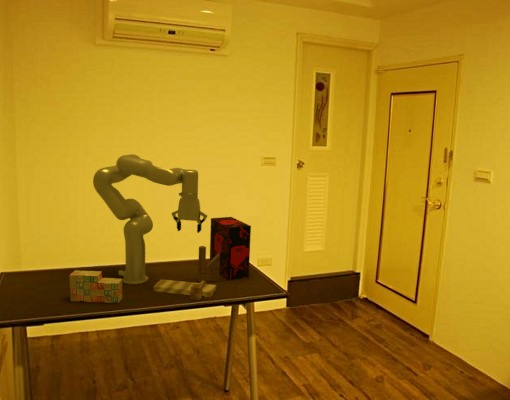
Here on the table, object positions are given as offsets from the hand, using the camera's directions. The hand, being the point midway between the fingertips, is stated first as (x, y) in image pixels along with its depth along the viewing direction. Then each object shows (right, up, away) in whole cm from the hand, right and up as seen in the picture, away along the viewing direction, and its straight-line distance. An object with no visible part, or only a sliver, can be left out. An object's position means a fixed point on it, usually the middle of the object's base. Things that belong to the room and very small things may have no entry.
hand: (189, 231), depth 212 cm
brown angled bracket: (+8, -27, +16) cm, 32 cm away
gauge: (+5, -30, -3) cm, 30 cm away
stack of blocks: (-39, -30, -14) cm, 51 cm away
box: (+17, -25, +30) cm, 42 cm away
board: (-2, -29, +1) cm, 29 cm away
